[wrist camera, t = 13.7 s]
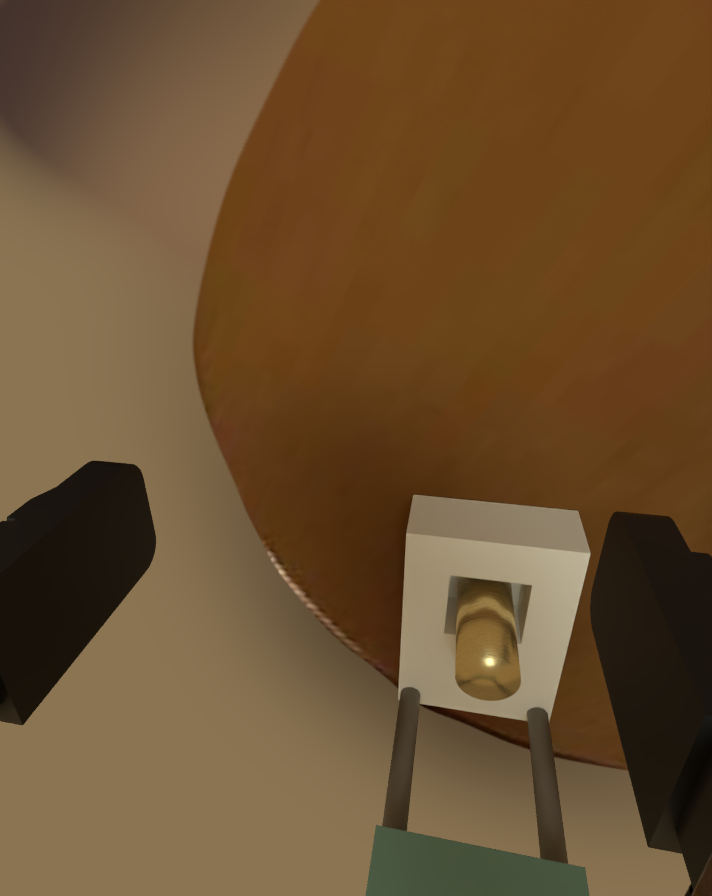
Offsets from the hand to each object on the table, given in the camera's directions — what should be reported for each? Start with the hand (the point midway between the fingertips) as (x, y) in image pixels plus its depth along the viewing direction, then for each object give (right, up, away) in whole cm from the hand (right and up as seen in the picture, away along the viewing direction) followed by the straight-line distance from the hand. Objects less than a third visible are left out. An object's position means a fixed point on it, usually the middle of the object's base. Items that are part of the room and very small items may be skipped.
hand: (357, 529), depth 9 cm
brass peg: (+10, -8, +33) cm, 36 cm away
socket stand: (+10, -10, +35) cm, 38 cm away
